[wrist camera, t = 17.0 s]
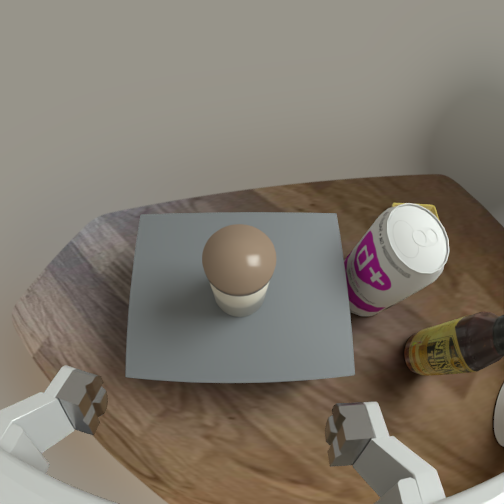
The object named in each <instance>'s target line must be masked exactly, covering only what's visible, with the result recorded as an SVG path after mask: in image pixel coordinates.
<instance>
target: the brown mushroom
mask: <svg viewBox="0 0 504 504" xmlns="http://www.w3.org/2000/svg"><path fill="white" fill-rule="evenodd" d="M202 264H203V268H204V271H205V274H206V277H207V279H208V280H209V282H210V285H211V288H212V291H213V294H214V297H215V300H216V303H217V305H218V306H219V307H220V309H221V310H222V311H224V312H225V313H227V314H229V315H231V316H235V317H245V316H248V315H251V314H253V313H254V312H256V311H257V310H258V309H259V308H260V307H261V305H262V304H263V301H264V298H265V295H266V292H267V288H268V285H269V281H270V279H271V278H272V275H273V273H274V269H275V266H276V251H275V248H274V245H273V243H272V242H271V240H270V239H269V237H268V236H267V235H266V234H265V233H263V232H262V231H261V230H259V229H257V228H255V227H253V226H249V225H244V224H235V225H229V226H226V227H224V228H221V229H220V230H218V231H216V232H215V233H214V234H213V235H212V236H211V237H210V238H209V239H208V241H207V242H206V244H205V246H204V249H203V253H202Z"/></svg>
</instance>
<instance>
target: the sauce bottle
mask: <svg viewBox="0 0 504 504" xmlns="http://www.w3.org/2000/svg"><path fill="white" fill-rule="evenodd" d="M404 356H405V361H406V365H407V366H408V368H409V369H410V370H411V371H413V372H415V373H417V374H419V375H443V374H457V373H466V372H475V371H479V370H481V369H483V368H485V367H487V366H489V365H491V364H493V363H495V362H497V361H499V360H500V359H501V358H502V357H503V356H504V315H502V316H497V315H495V314H494V313H491V312H479V313H476V314H474V315H468V316H465V317H462V318H459V319H456V320H453V321H450V322H447V323H443V324H440V325H437V326H433V327H430V328H426V329H423V330H421V331H419V332H417V333H415V334H414V335H412V336H411V337H410V338H409V340H408V341H407V343H406V345H405V350H404Z"/></svg>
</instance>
